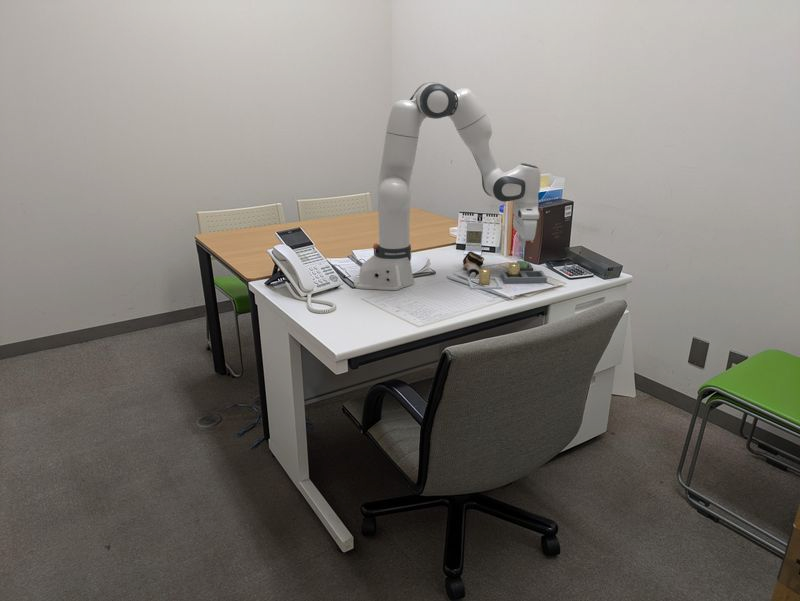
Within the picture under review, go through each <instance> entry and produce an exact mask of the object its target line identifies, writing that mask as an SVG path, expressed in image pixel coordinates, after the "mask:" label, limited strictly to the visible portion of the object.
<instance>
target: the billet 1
mask: <svg viewBox="0 0 800 601" xmlns="http://www.w3.org/2000/svg"><path fill="white" fill-rule="evenodd" d="M490 277H491V269H490V268H488V267H482V268H481V267H480V269H479V280H478V285H479V284H481V285H488V286H490V285H489V284H491V280H490ZM481 285H480V286H481Z"/></svg>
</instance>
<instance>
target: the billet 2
mask: <svg viewBox="0 0 800 601" xmlns="http://www.w3.org/2000/svg"><path fill="white" fill-rule="evenodd" d="M519 269H520V264H519V263H517V262H514V261H513V262H512V261H511V262H508V267H507V271H508V277H519Z"/></svg>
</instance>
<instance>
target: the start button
mask: <svg viewBox="0 0 800 601" xmlns="http://www.w3.org/2000/svg"><path fill="white" fill-rule="evenodd" d="M516 263H519V264H520V268H527V263H529V262H528V261H526V260H517V261H516Z"/></svg>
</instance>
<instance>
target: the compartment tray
mask: <svg viewBox="0 0 800 601" xmlns="http://www.w3.org/2000/svg"><path fill="white" fill-rule="evenodd" d="M499 278H500V280H501V281H502V283H503V285H518V284H519V285H524V284H525V285H529V284H530V285H533V284H534V285H535V284H539V285H540V284H549V282H548V276H547V275H546V274H545V273H544V272H543V270H533V271H519V277H508V270H501V271H500V275H499Z"/></svg>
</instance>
